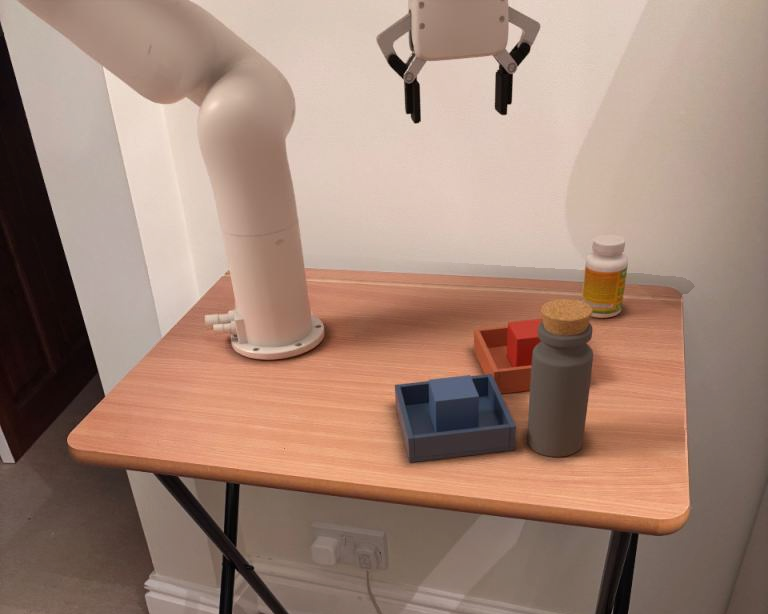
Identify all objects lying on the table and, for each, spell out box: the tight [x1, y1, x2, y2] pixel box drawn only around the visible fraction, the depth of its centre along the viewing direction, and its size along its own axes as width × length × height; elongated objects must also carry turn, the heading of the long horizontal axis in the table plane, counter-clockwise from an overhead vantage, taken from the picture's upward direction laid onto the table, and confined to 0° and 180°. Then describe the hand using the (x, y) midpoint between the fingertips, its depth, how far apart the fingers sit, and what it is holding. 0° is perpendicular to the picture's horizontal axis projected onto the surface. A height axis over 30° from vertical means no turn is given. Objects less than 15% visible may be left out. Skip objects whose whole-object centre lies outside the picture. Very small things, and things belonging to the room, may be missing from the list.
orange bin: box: [473, 325, 532, 395], centre depth 94 cm, size 11×11×3 cm
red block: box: [507, 318, 543, 368], centre depth 93 cm, size 5×5×5 cm
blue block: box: [428, 374, 479, 433], centre depth 84 cm, size 5×5×5 cm
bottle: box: [526, 298, 594, 458], centre depth 77 cm, size 6×6×15 cm
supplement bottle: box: [580, 233, 629, 319], centre depth 103 cm, size 5×5×10 cm
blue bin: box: [394, 374, 517, 463], centre depth 85 cm, size 11×11×3 cm
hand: (458, 116), depth 87 cm, fingers open, 9 cm apart
